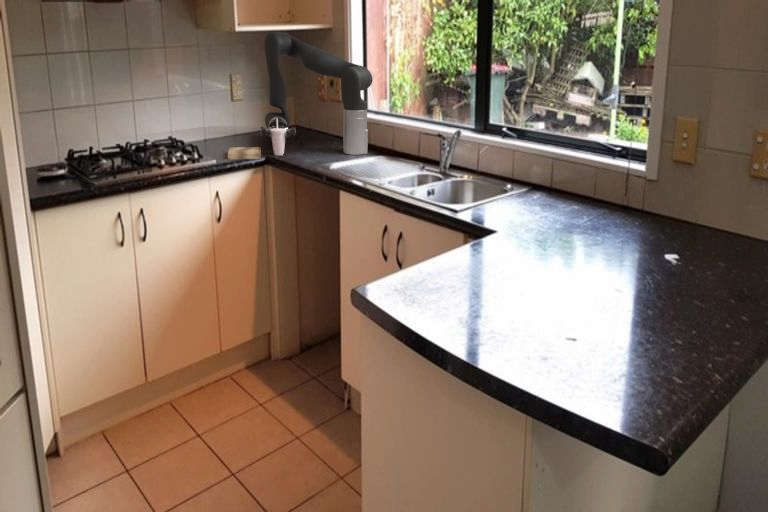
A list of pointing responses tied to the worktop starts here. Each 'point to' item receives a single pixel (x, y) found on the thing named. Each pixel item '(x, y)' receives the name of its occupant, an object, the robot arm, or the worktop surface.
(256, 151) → the board
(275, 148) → the smoothie
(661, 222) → the worktop surface
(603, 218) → the worktop surface
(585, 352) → the worktop surface
